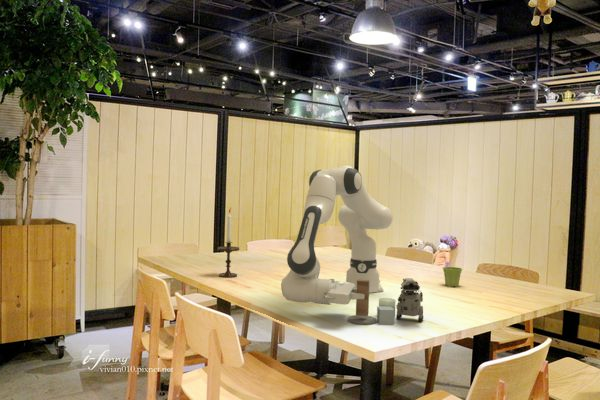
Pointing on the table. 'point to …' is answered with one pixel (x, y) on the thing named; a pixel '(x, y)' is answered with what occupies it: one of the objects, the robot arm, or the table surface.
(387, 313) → the bluegrey cube
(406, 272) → the table surface
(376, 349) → the table surface
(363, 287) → the walnut block
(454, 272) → the plant pot
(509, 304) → the table surface
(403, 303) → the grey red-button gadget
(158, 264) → the table surface
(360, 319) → the slate coaster
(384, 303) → the pale green cylinder
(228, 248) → the candlestick
